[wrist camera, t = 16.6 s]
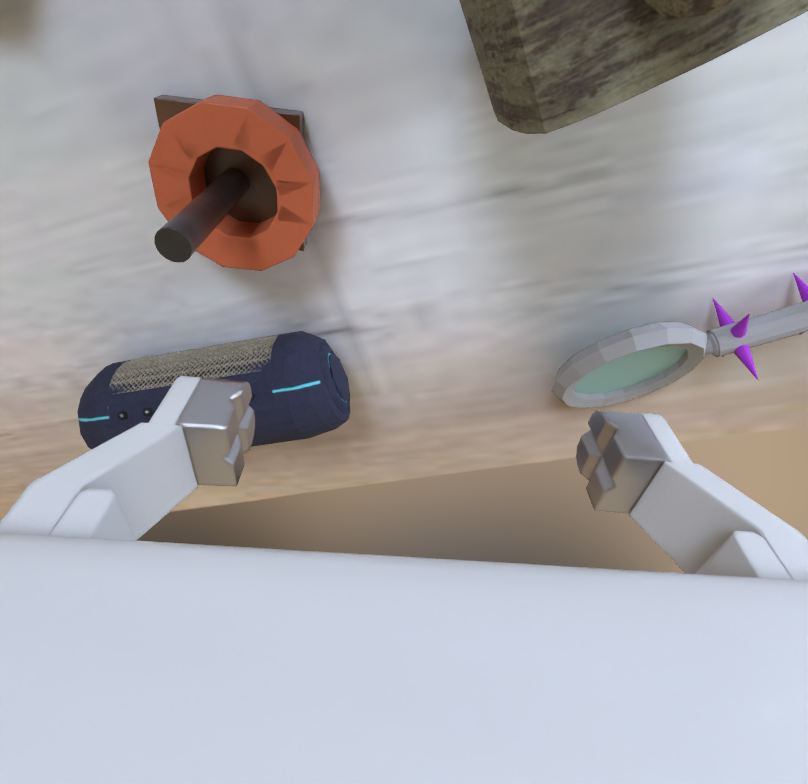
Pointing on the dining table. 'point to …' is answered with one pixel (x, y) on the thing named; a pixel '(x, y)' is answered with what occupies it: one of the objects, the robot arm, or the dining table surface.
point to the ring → (264, 142)
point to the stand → (219, 190)
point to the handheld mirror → (668, 354)
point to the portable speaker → (258, 365)
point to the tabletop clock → (601, 49)
